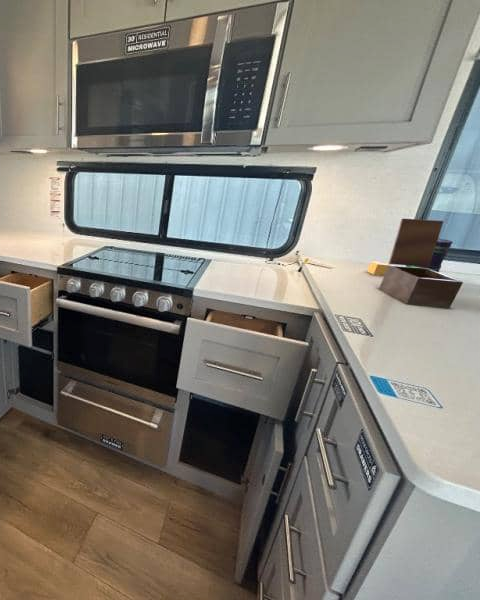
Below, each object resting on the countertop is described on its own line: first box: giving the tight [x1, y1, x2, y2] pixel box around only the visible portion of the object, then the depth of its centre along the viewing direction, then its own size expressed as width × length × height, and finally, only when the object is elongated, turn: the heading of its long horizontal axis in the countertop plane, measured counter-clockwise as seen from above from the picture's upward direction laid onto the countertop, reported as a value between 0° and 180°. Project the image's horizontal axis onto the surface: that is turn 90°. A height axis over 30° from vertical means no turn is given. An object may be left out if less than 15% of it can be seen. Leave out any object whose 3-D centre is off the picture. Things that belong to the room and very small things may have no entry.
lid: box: [388, 218, 444, 267], centre depth 111 cm, size 15×12×1 cm
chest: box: [378, 264, 464, 309], centre depth 108 cm, size 15×12×9 cm
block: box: [367, 261, 390, 277], centre depth 134 cm, size 4×4×4 cm
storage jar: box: [405, 237, 454, 273], centre depth 132 cm, size 10×10×15 cm
